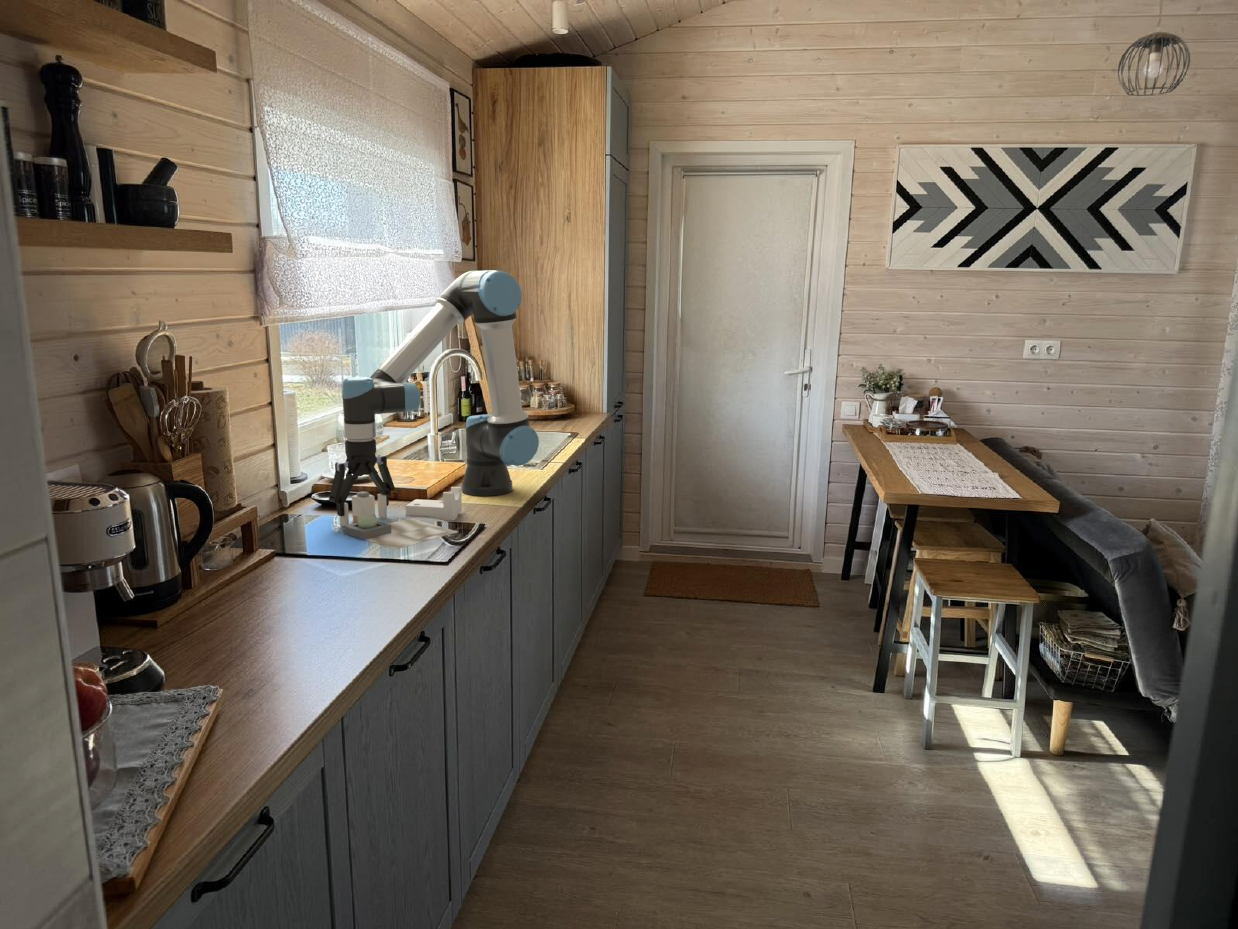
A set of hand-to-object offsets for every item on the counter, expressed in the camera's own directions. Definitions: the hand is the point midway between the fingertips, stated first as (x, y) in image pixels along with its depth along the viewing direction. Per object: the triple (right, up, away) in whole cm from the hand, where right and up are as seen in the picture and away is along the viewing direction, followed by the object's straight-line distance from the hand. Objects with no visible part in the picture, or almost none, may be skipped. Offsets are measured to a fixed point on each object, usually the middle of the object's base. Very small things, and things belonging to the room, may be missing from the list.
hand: (364, 523), depth 222 cm
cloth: (+12, -2, -10) cm, 16 cm away
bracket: (+16, +1, +9) cm, 19 cm away
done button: (+4, 0, -11) cm, 12 cm away
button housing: (+4, -2, -11) cm, 12 cm away
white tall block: (0, 0, 0) cm, 0 cm away
